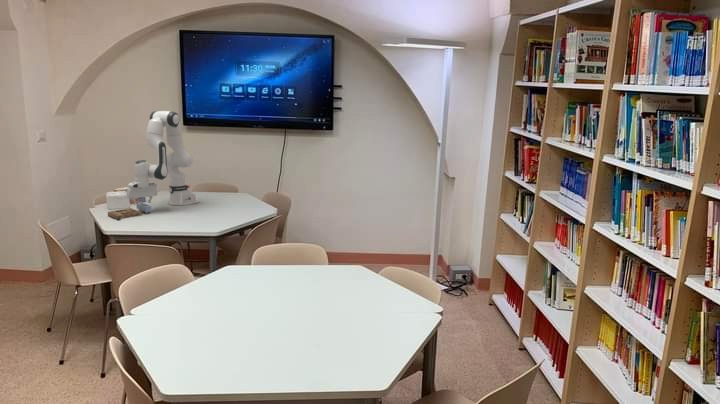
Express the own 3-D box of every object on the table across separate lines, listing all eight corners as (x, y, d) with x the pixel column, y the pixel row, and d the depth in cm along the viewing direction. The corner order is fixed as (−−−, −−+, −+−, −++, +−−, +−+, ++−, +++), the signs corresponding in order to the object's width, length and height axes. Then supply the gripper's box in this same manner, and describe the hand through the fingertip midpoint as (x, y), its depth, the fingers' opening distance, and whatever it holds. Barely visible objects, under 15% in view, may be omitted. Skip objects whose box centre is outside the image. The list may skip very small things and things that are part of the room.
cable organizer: (129, 206, 377) (128, 190, 375) (130, 209, 368) (128, 193, 366) (107, 207, 371) (105, 192, 369) (107, 211, 362) (105, 195, 359)
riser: (145, 212, 361) (145, 208, 361) (148, 213, 358) (148, 209, 358) (139, 213, 358) (139, 209, 358) (142, 214, 355) (142, 210, 355)
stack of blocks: (141, 200, 397) (140, 185, 394) (145, 201, 393) (144, 186, 390) (114, 205, 380) (113, 188, 377) (118, 206, 376) (117, 190, 374)
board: (131, 212, 360) (131, 208, 359) (141, 216, 349) (141, 212, 348) (108, 215, 348) (107, 211, 348) (117, 220, 338) (117, 216, 337)
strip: (142, 209, 364) (142, 202, 363) (151, 213, 355) (151, 205, 354) (136, 210, 361) (136, 203, 360) (145, 214, 352) (145, 206, 351)
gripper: (154, 181, 363) (155, 201, 366) (125, 184, 348) (126, 204, 351) (158, 183, 359) (159, 202, 361) (129, 185, 344) (130, 205, 347)
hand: (142, 203), depth 356 cm, fingers open, 8 cm apart
